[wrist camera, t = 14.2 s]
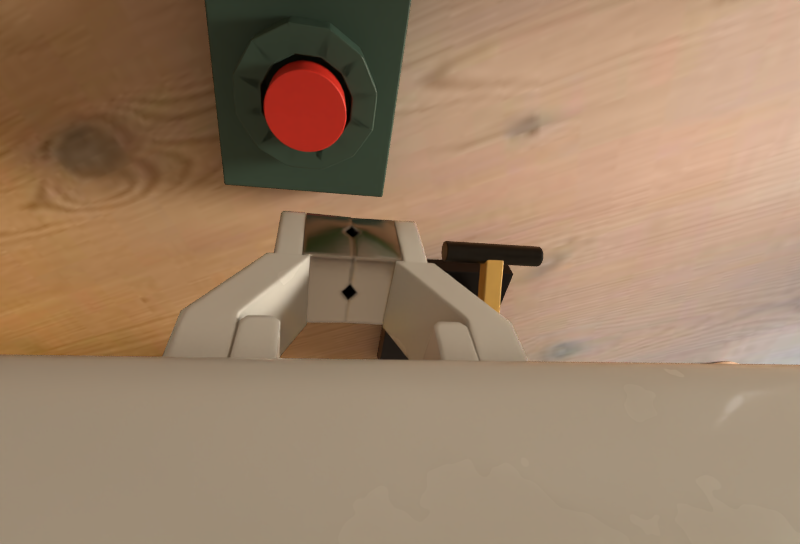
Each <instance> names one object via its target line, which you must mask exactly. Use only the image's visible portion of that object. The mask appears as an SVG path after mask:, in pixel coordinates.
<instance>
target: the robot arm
mask: <svg viewBox="0 0 800 544" xmlns="http://www.w3.org/2000/svg"><path fill="white" fill-rule="evenodd" d="M307 322H313V323H360V324H377V325H382V327H383V328H384V329H385V330H386V332H387V333H388V334H389V335H390V337H391V338H392V339H393V340H394V342H395V343H396V344H397V345H398V347H399V348H400V349H401V350H402V352H403V353H404V354H405V355H406V357H407V358H408V359H409V360H384V359H302V358H280V356H281V355H282V353H283V352H284V351H285V350H286V349H287V347H288V346H289V345H290V344H291V343H292V341H293V340H294V339H295V338H296V337H297V335H298V334H299V333H300V332H301V331H302V329H303V328H304V327H305V326H306V324H307ZM0 544H800V365H782V364H704V363H625V362H541V361H528V359H527V357H526V354H525V352H524V350H523V348H522V346H521V343H520V341H519V339H518V337H517V335H516V332H515V330H514V328H513V326H512V324H511V322H510V321H508V320H507V319H506V318H504V317H503V316H502V315H501V314H499V313H498V312H497V311H495V310H494V309H493V308H491V307H490V306H489V305H487V304H486V303H485V302H484V301H482V300H481V299H480V298H478V297H477V296H476V295H474V294H473V293H472V292H471V291H469V290H468V289H467V288H465V287H464V286H463V285H461V284H460V283H459V282H458V281H456V280H455V279H454V278H452V277H451V276H450V275H448V274H447V273H446V272H444V271H443V270H442V269H441V268H439V267H438V266H437V265H435V264H434V263H428V262H427V258H426V255H425V252H424V248H423V245H422V242H421V238H420V235H419V231H418V228H417V225H416V223H415V222H414V221H392V220H375V219H358V218H351V217H341V216H331V215H321V214H312V213H307V214H305V212H291V211H283V212H282V213H281V217H280V222H279V228H278V233H277V239H276V244H275V249H274V253H266V254H264V255H263V256H261V257H260V258H258V259H257V260H255V261H254V262H252V263H251V264H250V265H248V266H247V267H245V268H244V269H242V270H241V271H239V272H238V273H236V274H235V275H233V276H232V277H230V278H229V279H227V280H226V281H224V282H223V283H221V284H220V285H218V286H217V287H215V288H214V289H212V290H211V291H209V292H208V293H206V294H205V295H203V296H202V297H200V298H199V299H197V300H196V301H195V302H193V303H192V304H190V305H189V306H187V307H186V308H184V309H183V310H181V312H180V314H179V316H178V319H177V321H176V324H175V326H174V329H173V331H172V334H171V336H170V339H169V341H168V344H167V346H166V348H165V351H164V353H163V356H162V357H149V356H72V355H0Z"/></svg>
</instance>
